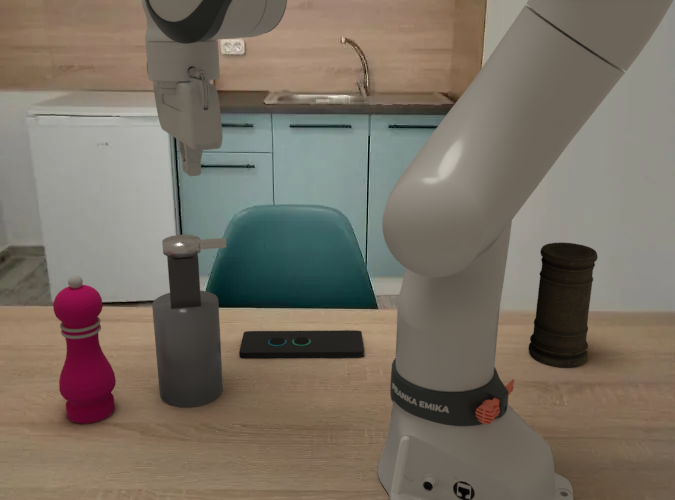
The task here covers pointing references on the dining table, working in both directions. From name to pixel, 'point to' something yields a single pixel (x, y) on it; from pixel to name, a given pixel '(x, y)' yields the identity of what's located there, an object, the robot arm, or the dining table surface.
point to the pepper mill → (83, 354)
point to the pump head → (189, 245)
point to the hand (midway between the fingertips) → (192, 174)
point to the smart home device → (301, 344)
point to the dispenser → (187, 338)
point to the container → (563, 305)
